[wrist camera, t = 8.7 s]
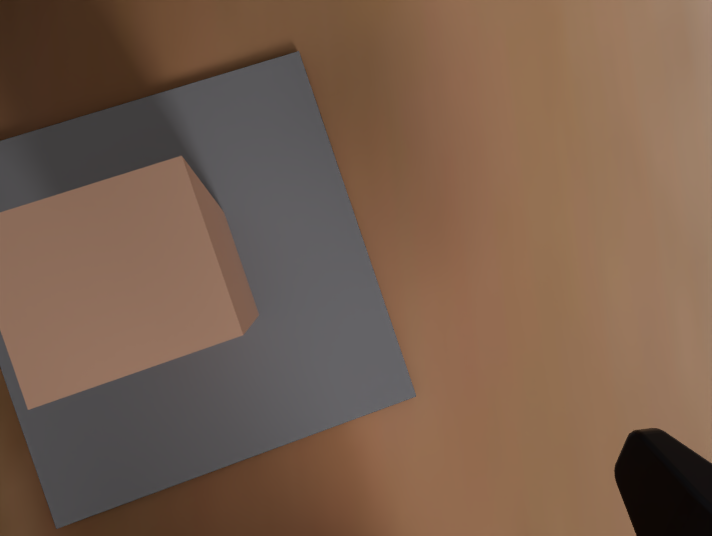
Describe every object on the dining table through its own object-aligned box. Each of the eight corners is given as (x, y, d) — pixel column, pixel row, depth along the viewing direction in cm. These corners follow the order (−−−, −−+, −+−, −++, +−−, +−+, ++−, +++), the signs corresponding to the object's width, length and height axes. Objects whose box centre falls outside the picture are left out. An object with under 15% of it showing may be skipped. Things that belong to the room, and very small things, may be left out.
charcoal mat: (414, 394, 23) (416, 396, 23) (59, 525, 21) (56, 528, 21) (298, 54, 23) (298, 51, 22) (-66, 163, 21) (-71, 162, 21)
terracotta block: (259, 315, 22) (243, 335, 13) (138, 356, 22) (28, 410, 12) (223, 212, 22) (181, 155, 13) (102, 251, 22) (-37, 224, 12)
